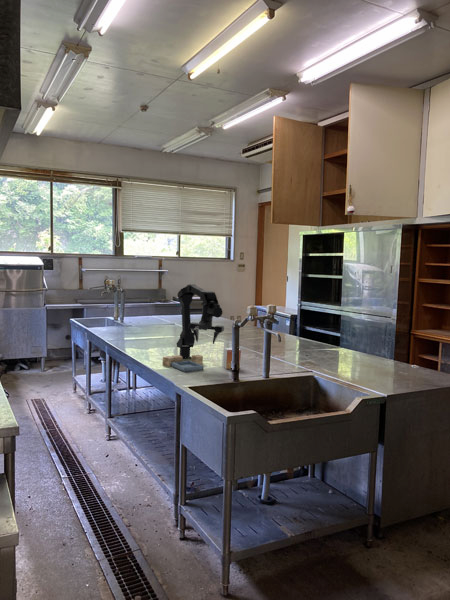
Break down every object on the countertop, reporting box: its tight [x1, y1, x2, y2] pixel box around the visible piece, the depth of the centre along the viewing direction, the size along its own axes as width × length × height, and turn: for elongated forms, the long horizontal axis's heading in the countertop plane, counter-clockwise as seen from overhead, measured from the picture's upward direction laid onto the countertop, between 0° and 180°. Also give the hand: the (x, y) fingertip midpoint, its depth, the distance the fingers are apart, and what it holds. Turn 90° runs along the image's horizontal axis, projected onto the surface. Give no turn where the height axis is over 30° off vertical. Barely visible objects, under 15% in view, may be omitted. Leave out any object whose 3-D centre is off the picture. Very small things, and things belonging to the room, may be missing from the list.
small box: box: [222, 347, 242, 370], centre depth 254 cm, size 8×6×10 cm
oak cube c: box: [162, 355, 175, 367], centre depth 252 cm, size 4×4×4 cm
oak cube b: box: [171, 354, 184, 362], centre depth 255 cm, size 4×4×4 cm
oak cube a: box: [190, 354, 204, 365], centre depth 260 cm, size 4×4×4 cm
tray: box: [170, 360, 204, 373], centre depth 248 cm, size 14×12×2 cm
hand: (205, 342), depth 255 cm, fingers open, 9 cm apart
